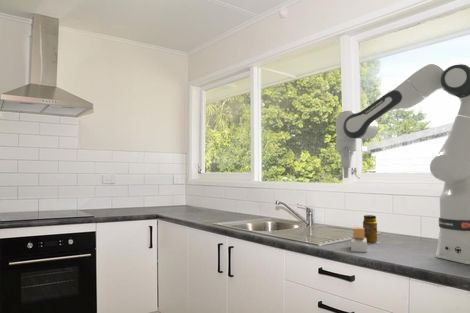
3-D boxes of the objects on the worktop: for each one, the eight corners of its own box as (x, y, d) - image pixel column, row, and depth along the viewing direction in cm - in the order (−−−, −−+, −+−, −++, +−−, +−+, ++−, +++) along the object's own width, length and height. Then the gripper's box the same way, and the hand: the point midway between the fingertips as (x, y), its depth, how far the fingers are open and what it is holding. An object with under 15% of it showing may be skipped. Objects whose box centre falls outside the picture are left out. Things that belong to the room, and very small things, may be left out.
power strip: (351, 246, 159) (351, 236, 160) (366, 247, 158) (366, 237, 158) (351, 251, 150) (351, 240, 150) (367, 252, 148) (366, 241, 148)
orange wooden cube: (353, 236, 159) (353, 227, 159) (364, 237, 158) (364, 227, 158) (353, 238, 155) (353, 228, 155) (364, 238, 154) (364, 229, 154)
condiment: (381, 242, 168) (381, 216, 169) (367, 244, 165) (366, 217, 165) (369, 240, 175) (369, 214, 175) (355, 241, 171) (355, 215, 172)
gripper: (353, 145, 158) (353, 178, 157) (353, 148, 177) (353, 177, 177) (337, 145, 160) (337, 178, 159) (339, 148, 179) (339, 177, 178)
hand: (346, 177), depth 168 cm, fingers closed
